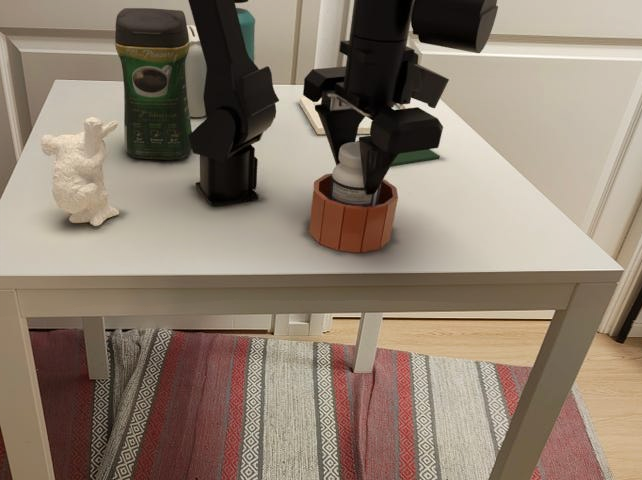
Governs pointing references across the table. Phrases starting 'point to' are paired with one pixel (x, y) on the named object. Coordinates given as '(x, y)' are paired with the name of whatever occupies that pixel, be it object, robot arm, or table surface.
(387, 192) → the pot
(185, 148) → the coffee jar
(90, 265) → the table surface
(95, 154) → the white animal figurine
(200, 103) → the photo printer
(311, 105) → the photo frame
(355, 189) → the pill bottle
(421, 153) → the mat
